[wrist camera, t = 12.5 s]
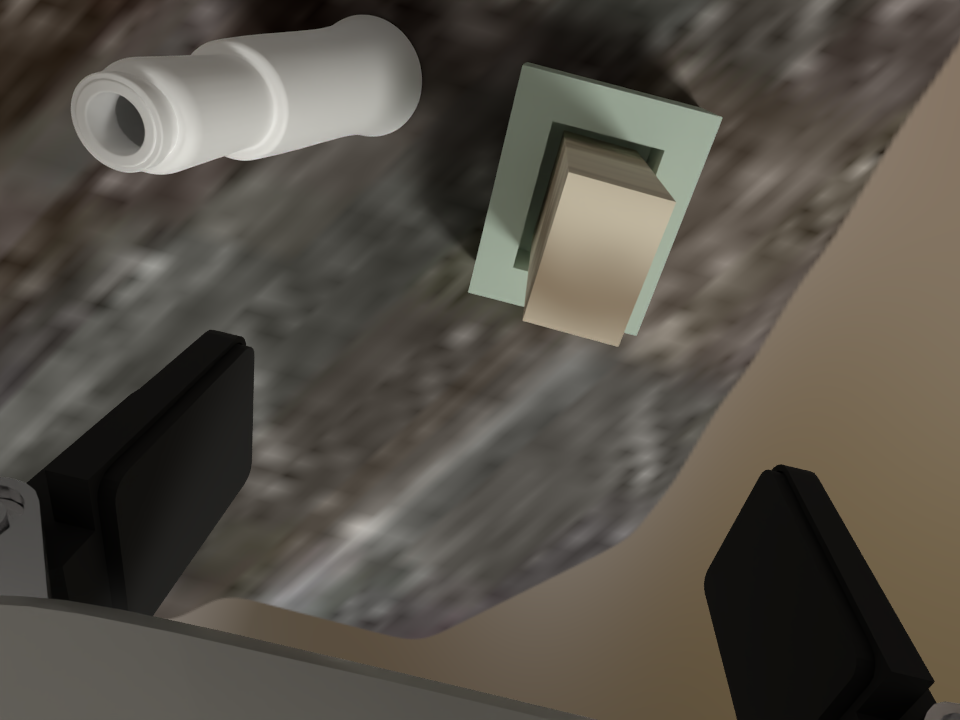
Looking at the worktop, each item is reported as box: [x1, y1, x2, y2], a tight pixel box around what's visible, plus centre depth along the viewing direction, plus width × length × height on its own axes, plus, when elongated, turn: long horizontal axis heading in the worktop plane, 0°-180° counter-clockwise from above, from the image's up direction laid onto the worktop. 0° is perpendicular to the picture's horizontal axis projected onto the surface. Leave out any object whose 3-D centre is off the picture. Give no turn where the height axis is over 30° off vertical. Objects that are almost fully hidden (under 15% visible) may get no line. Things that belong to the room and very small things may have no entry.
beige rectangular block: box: [523, 130, 676, 347], centre depth 29 cm, size 6×4×12 cm, turn 166°
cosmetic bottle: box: [71, 15, 422, 174], centre depth 24 cm, size 6×6×22 cm
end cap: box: [469, 62, 723, 336], centre depth 33 cm, size 12×10×5 cm
